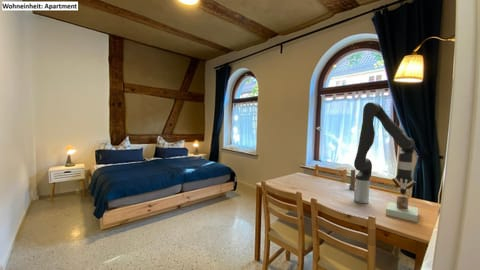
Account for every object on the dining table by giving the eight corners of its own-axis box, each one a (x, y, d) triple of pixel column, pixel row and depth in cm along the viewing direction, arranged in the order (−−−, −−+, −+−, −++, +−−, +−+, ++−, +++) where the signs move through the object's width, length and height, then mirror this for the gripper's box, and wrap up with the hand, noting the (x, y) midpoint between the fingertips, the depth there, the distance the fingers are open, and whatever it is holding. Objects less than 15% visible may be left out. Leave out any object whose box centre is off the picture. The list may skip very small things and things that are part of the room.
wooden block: (362, 189, 191) (363, 169, 190) (351, 190, 189) (352, 170, 188) (359, 188, 195) (360, 168, 193) (349, 188, 193) (349, 169, 192)
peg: (395, 213, 140) (396, 196, 139) (396, 210, 145) (397, 194, 144) (407, 216, 136) (408, 198, 135) (407, 213, 141) (408, 196, 140)
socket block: (385, 214, 139) (386, 208, 139) (388, 207, 152) (388, 201, 151) (417, 222, 129) (417, 215, 129) (417, 213, 141) (417, 207, 141)
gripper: (417, 168, 137) (415, 195, 138) (392, 165, 145) (391, 190, 147) (417, 171, 131) (415, 198, 132) (391, 167, 140) (390, 193, 141)
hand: (402, 194), depth 140 cm, fingers closed
